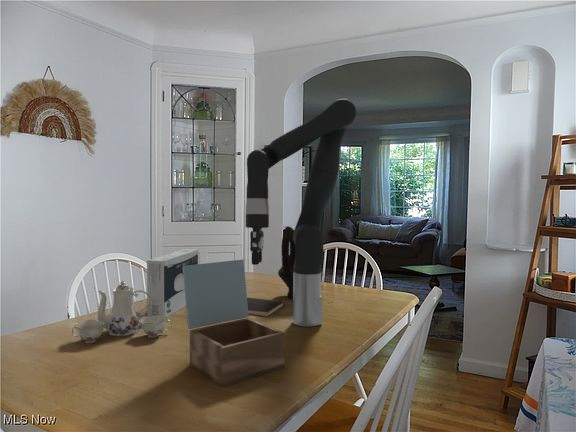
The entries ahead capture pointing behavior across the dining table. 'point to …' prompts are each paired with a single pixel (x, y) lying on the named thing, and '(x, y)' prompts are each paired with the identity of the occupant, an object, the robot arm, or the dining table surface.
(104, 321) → the chinaware
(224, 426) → the dining table surface
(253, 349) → the box
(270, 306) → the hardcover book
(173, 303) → the packaging
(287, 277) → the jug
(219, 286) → the lid
